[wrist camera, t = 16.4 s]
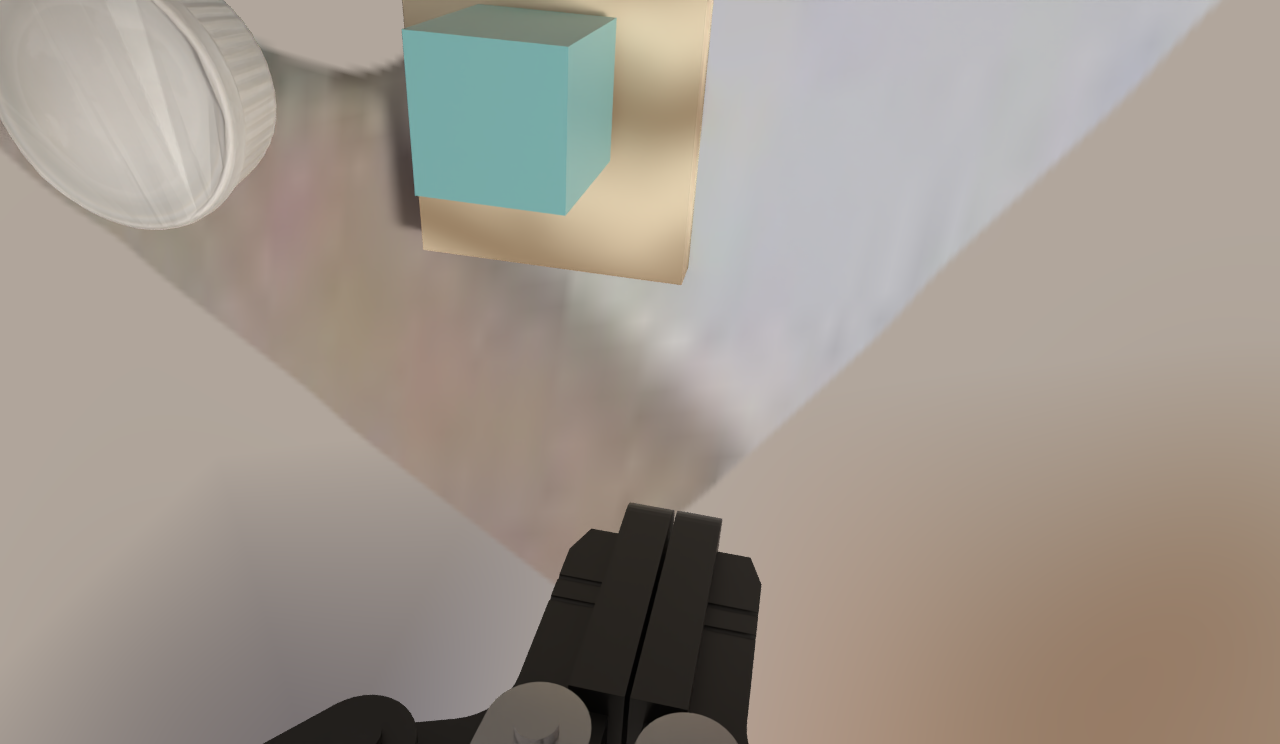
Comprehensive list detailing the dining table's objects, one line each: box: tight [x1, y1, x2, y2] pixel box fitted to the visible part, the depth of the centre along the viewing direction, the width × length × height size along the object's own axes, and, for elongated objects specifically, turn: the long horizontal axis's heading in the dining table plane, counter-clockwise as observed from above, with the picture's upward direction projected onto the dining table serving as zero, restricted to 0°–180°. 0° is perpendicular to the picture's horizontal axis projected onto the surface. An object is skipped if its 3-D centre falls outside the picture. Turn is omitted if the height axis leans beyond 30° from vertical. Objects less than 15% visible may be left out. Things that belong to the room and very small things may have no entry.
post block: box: [402, 0, 713, 285], centre depth 31 cm, size 16×12×8 cm
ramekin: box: [0, 0, 276, 230], centre depth 36 cm, size 11×11×5 cm
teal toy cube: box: [402, 4, 617, 216], centre depth 30 cm, size 5×5×7 cm
